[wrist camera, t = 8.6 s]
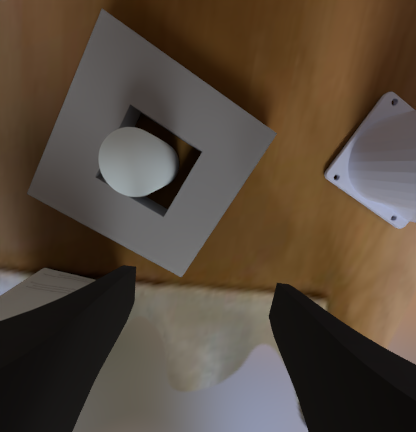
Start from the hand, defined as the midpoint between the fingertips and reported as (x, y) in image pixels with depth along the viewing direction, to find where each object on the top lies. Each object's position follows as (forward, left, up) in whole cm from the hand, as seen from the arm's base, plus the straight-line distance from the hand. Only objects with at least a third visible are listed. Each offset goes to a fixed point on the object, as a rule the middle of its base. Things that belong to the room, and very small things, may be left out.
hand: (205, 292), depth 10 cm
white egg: (+7, -3, -9) cm, 12 cm away
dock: (+7, -3, -9) cm, 12 cm away
